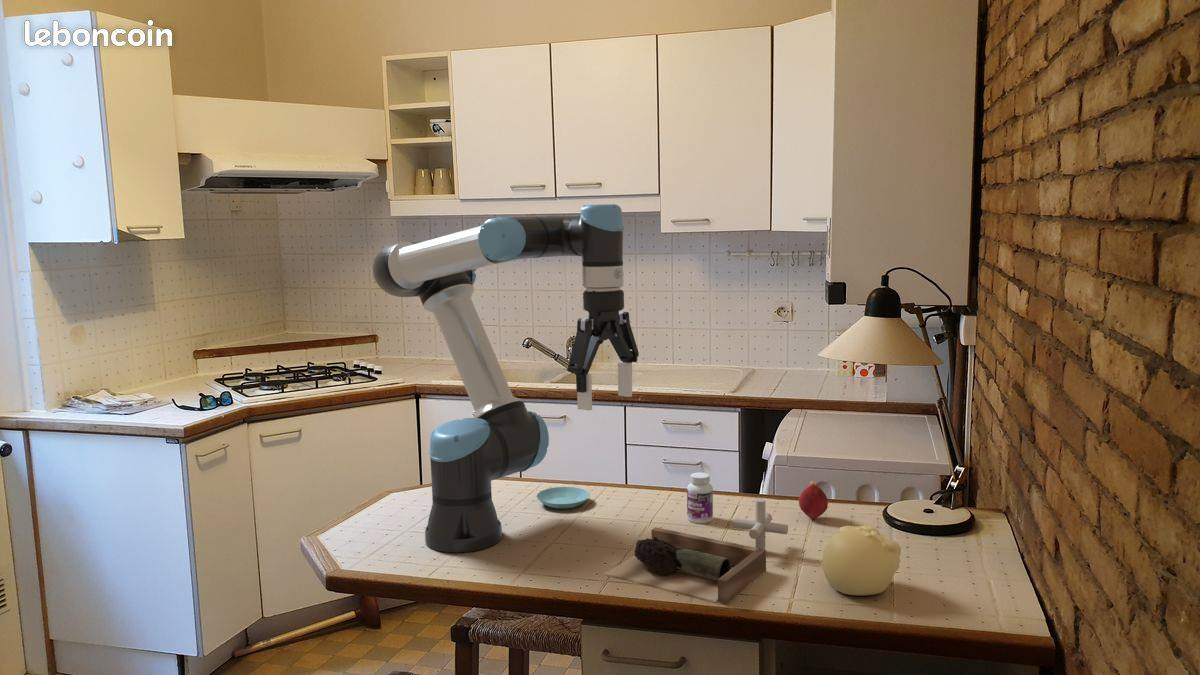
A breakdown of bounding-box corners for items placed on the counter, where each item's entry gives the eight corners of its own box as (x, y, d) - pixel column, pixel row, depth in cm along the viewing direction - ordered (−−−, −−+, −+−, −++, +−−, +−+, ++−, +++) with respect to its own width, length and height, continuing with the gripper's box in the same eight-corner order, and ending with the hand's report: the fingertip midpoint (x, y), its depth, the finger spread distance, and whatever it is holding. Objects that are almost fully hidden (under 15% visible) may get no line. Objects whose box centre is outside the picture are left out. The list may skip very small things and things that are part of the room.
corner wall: (609, 575, 159) (609, 554, 159) (655, 547, 172) (655, 527, 172) (726, 604, 147) (726, 581, 146) (766, 571, 160) (766, 549, 159)
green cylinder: (731, 577, 157) (731, 547, 156) (714, 592, 151) (714, 560, 150) (644, 557, 166) (643, 528, 165) (625, 570, 161) (624, 540, 160)
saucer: (598, 499, 203) (598, 489, 202) (576, 516, 192) (576, 505, 192) (551, 493, 207) (551, 484, 207) (527, 509, 197) (527, 499, 196)
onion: (831, 517, 187) (831, 480, 186) (822, 525, 182) (822, 487, 181) (804, 513, 190) (804, 476, 189) (794, 521, 185) (795, 483, 184)
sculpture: (910, 591, 150) (911, 529, 149) (860, 609, 144) (862, 545, 142) (856, 569, 160) (857, 511, 158) (808, 586, 153) (808, 525, 152)
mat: (604, 575, 160) (604, 573, 159) (636, 555, 169) (636, 553, 169) (715, 602, 147) (715, 601, 147) (744, 579, 156) (744, 577, 156)
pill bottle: (685, 523, 185) (684, 478, 184) (688, 514, 190) (688, 470, 189) (711, 524, 184) (711, 479, 183) (714, 516, 189) (714, 471, 188)
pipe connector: (792, 546, 171) (793, 495, 170) (780, 564, 162) (780, 511, 161) (741, 539, 176) (741, 489, 174) (726, 557, 167) (726, 505, 165)
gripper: (580, 295, 152) (583, 417, 155) (655, 284, 173) (656, 392, 176) (545, 294, 157) (549, 413, 159) (622, 283, 177) (624, 389, 180)
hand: (605, 402), depth 168 cm, fingers open, 13 cm apart
